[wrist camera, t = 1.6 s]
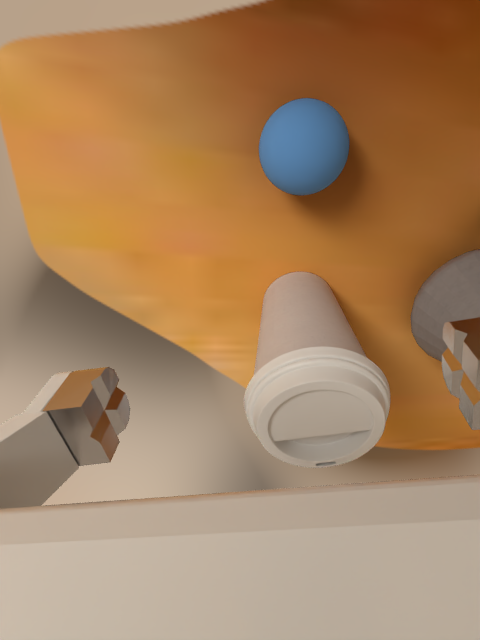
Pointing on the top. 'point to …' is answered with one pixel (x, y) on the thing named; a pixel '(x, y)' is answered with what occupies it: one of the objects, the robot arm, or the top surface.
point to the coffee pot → (446, 301)
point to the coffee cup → (313, 379)
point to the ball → (304, 146)
